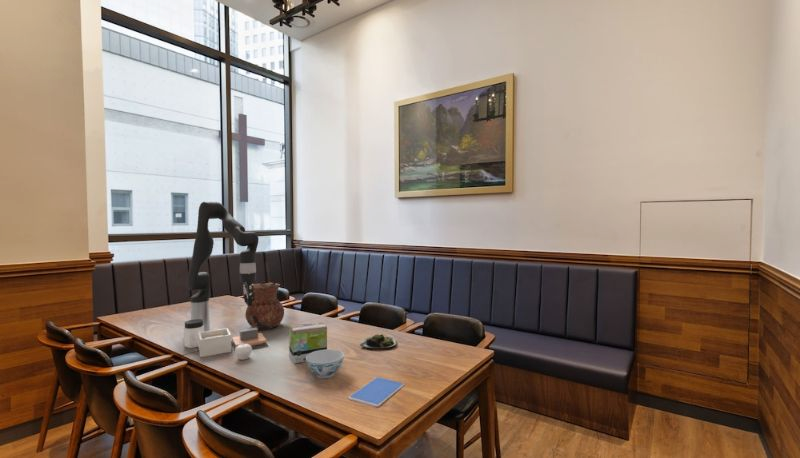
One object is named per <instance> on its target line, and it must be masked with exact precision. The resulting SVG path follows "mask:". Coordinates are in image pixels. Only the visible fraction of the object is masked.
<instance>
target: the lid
mask: <svg viewBox="0 0 800 458" xmlns="http://www.w3.org/2000/svg"><path fill="white" fill-rule="evenodd" d="M231 341H233V343H234V345H235V347H237V346H239V345H242V342H243V343H244V344H249V345H250V346H255V345H261V344H262V343H265V342H266V343H267V339H266V337H265V336H264V335H263V333H262V332H259V329H257V327H256V328H253V327H250V328H245V329H239V336H238V335H237V336H231ZM241 341H242V342H241Z"/></svg>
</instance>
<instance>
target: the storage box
mask: <svg viewBox="0 0 800 458" xmlns="http://www.w3.org/2000/svg"><path fill="white" fill-rule="evenodd" d="M198 338H199V347H198V351H199V357H200V358H204V357H209V356H214V355H215V356H216V355H220V354H226V353H231V352H232V344H231V341H232V334H231V331H230V330H229V328H228V327H227V328H220V329H219V328H218V329H214V330H213V329H212V330H209V331H205V332H198Z"/></svg>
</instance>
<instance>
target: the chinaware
mask: <svg viewBox="0 0 800 458" xmlns="http://www.w3.org/2000/svg"><path fill="white" fill-rule="evenodd" d="M344 359H345V354H344V352H343V351H341V350H338V349H329V348H327V349H326V350H318V351H314V352H312V353H310V354H308V355H307V356H306V361H305V362H306V364H307V367H308V368H309V370H310V371H311V372H312V373H313V374H315V375H316V377H317V378H319V379H330V378H333V376H334V374H335V373H336V372H337V371H338V370H340V368H341V366H342V365H343V361H344Z"/></svg>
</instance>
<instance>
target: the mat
mask: <svg viewBox="0 0 800 458" xmlns="http://www.w3.org/2000/svg"><path fill="white" fill-rule="evenodd" d="M231 347H232V348H233V349H234V351H235V348H236V347H235V345H234V343H233V340H231ZM251 347H252V350H255V349H262V348H268V347H269V344H268V343H267V341H266V342H265V343H262V344H261V345H255V346H251Z"/></svg>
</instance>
